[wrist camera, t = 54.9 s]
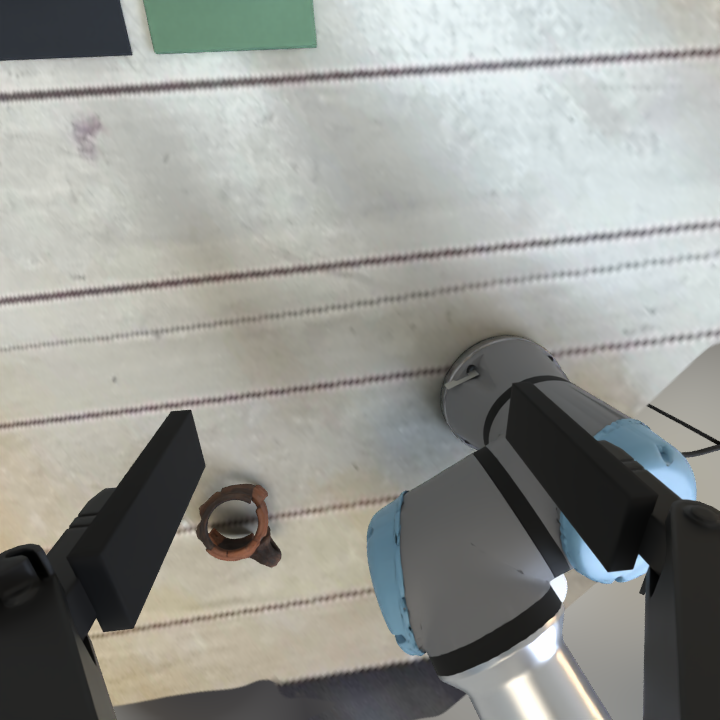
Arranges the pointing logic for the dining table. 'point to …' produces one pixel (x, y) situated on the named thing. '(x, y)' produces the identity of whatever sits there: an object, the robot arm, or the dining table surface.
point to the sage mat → (229, 25)
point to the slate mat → (62, 29)
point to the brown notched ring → (245, 547)
